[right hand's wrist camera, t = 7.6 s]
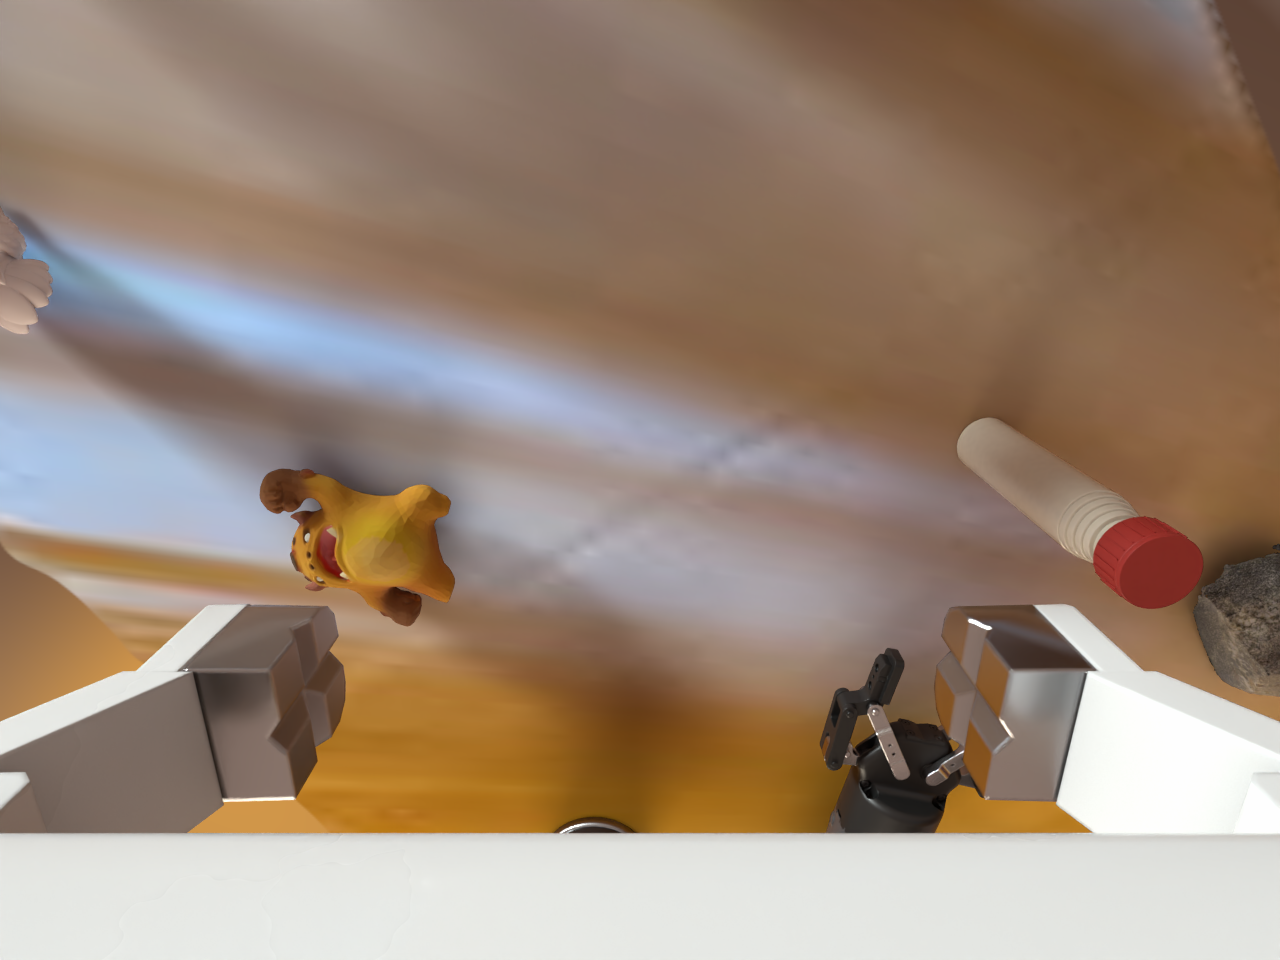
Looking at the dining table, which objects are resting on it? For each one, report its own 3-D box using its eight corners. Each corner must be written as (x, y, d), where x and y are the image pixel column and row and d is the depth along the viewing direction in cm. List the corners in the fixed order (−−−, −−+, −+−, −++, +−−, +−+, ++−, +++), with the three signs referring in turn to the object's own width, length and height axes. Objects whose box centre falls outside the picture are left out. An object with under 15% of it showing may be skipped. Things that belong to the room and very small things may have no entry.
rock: (1172, 567, 61) (1234, 609, 54) (1281, 515, 59) (1356, 552, 53) (1218, 687, 65) (1280, 739, 59) (1320, 642, 63) (1395, 690, 57)
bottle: (1004, 408, 56) (1190, 518, 37) (1018, 456, 58) (1206, 586, 39) (949, 431, 57) (1105, 551, 38) (965, 478, 58) (1123, 617, 39)
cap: (1164, 502, 39) (1195, 521, 37) (1180, 568, 41) (1211, 590, 38) (1082, 534, 40) (1109, 554, 38) (1101, 598, 41) (1128, 621, 39)
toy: (438, 643, 59) (240, 594, 57) (459, 581, 64) (278, 533, 62) (459, 551, 52) (234, 490, 50) (481, 488, 57) (277, 431, 55)
